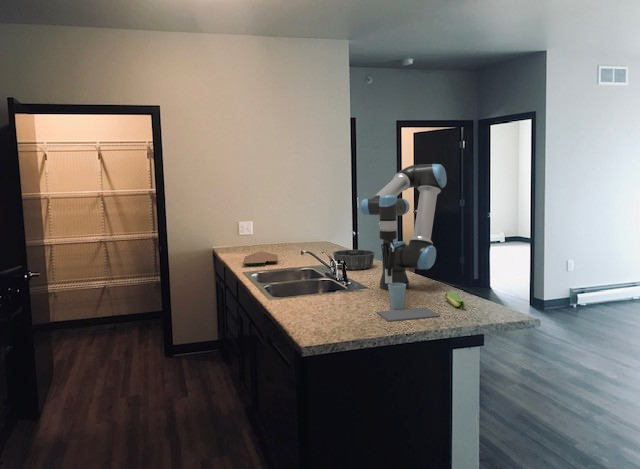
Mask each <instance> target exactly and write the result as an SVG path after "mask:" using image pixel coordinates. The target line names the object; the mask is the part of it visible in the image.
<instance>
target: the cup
mask: <svg viewBox="0 0 640 469" xmlns="http://www.w3.org/2000/svg"><path fill="white" fill-rule="evenodd" d="M388 289H389V290H388V296H389V297H388V298H389V305H390V309H392V310H402V309H405V299H406V290H407V289H406V284H404V283H390V284H388Z"/></svg>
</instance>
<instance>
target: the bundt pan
mask: <svg viewBox="0 0 640 469" xmlns="http://www.w3.org/2000/svg"><path fill="white" fill-rule="evenodd" d="M332 254H333V259H334V262H335V261H338V260H340V261H346V264H347V268H346V269H345V270H347V271H350V270H351V271H355V270H358V271H360V270H367V269H369V268H371V267H372V266H373V264H374V259H375V255H376V252H375V251H374V250H368V249H367V250H366V249H343V250H337V251H333V252H332ZM337 268H338V269H340V268H342V265H338V267H337Z"/></svg>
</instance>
